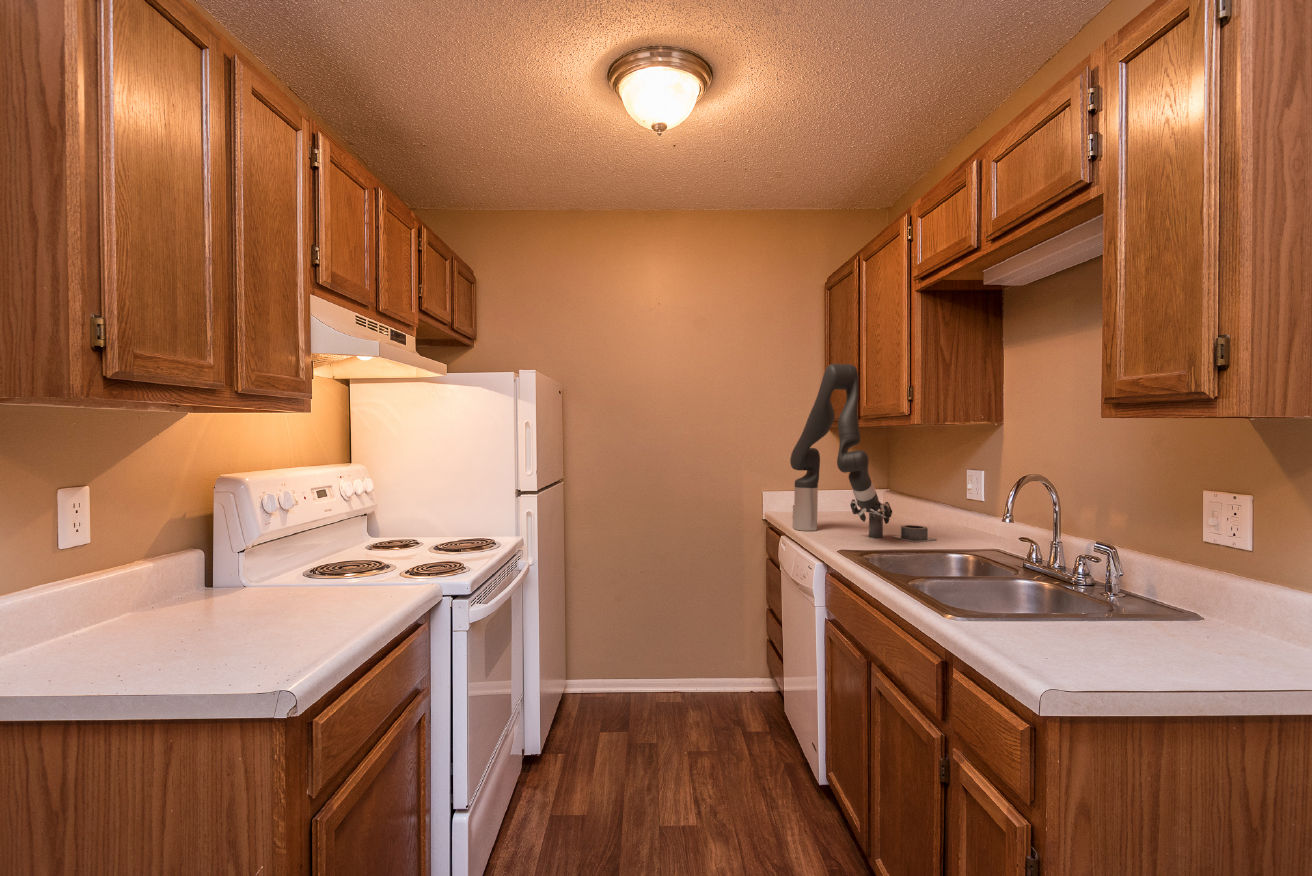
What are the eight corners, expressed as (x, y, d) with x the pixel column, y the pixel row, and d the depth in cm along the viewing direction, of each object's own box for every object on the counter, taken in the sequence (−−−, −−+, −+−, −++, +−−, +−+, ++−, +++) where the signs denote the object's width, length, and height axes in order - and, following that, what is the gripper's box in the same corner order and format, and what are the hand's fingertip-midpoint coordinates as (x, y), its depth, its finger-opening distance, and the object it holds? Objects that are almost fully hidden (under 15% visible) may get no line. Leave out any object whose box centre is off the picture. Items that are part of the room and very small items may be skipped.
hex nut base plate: (891, 537, 235) (891, 525, 235) (912, 535, 240) (912, 524, 240) (915, 542, 225) (915, 529, 225) (936, 540, 230) (936, 528, 230)
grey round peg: (865, 536, 238) (865, 510, 237) (875, 535, 240) (875, 509, 240) (875, 538, 233) (876, 511, 233) (886, 537, 235) (886, 511, 235)
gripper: (887, 486, 224) (897, 514, 233) (848, 483, 233) (859, 511, 242) (881, 501, 220) (892, 530, 229) (842, 499, 229) (854, 526, 238)
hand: (875, 520), depth 236 cm, fingers open, 8 cm apart
